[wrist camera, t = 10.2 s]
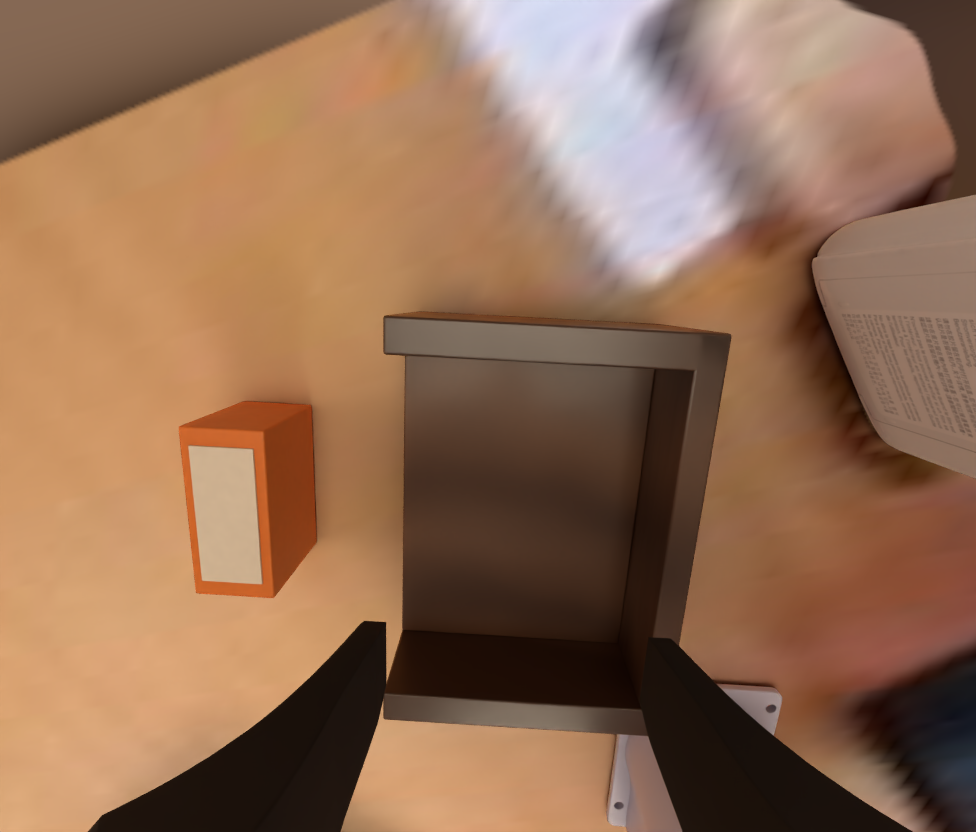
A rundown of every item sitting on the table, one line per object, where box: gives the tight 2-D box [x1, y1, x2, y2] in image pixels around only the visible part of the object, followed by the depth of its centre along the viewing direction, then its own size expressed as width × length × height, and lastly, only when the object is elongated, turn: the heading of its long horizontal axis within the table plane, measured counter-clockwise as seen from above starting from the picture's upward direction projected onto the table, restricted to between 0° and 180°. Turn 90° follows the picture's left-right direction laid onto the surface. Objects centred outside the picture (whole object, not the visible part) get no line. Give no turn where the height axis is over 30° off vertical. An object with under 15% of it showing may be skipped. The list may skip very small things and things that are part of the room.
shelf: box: [383, 311, 731, 736], centre depth 19 cm, size 15×11×6 cm
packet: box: [179, 401, 316, 598], centre depth 20 cm, size 7×3×5 cm, turn 177°
